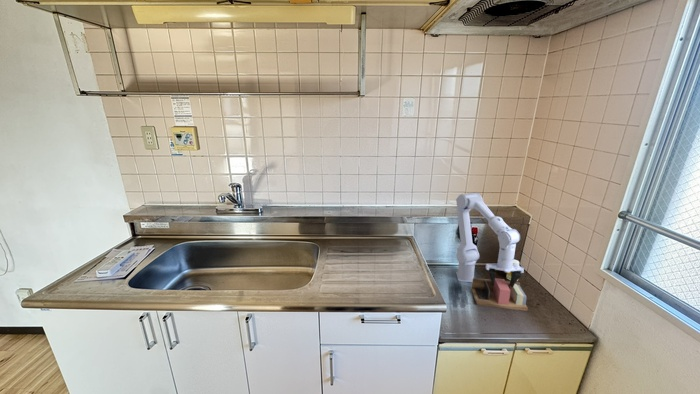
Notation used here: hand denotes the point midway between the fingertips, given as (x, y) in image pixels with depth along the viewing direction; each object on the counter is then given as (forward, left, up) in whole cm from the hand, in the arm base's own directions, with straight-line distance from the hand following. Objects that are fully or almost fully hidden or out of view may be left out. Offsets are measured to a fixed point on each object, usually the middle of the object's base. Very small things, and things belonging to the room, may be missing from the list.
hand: (501, 285), depth 124 cm
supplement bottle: (-20, +11, -8) cm, 25 cm away
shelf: (0, -1, -8) cm, 8 cm away
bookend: (-1, -7, -6) cm, 10 cm away
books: (-1, +7, -6) cm, 10 cm away
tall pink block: (0, 0, -7) cm, 7 cm away
